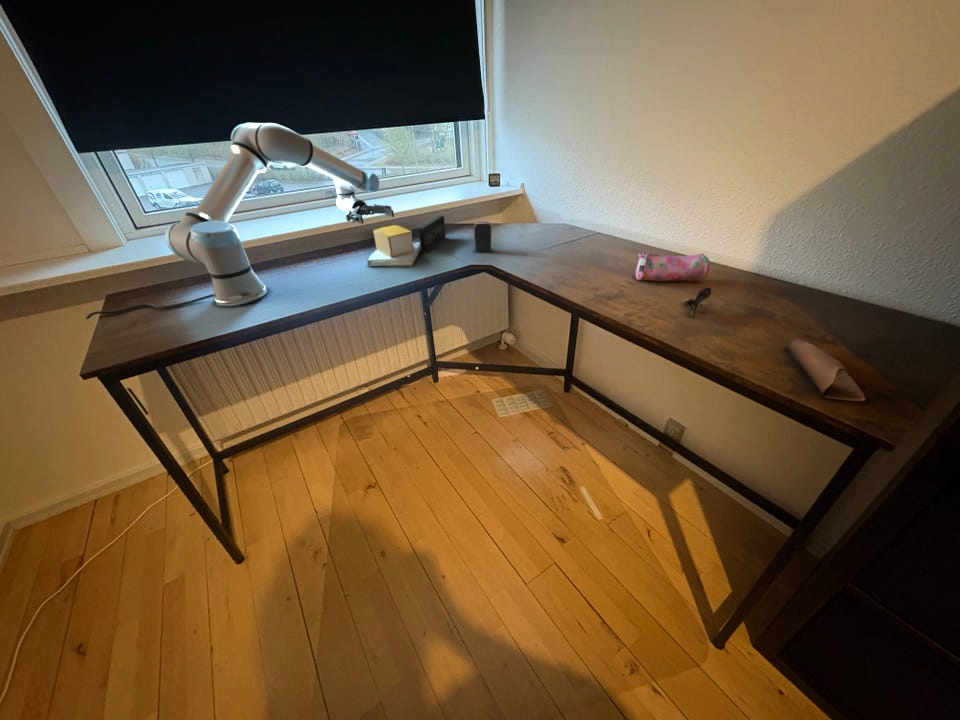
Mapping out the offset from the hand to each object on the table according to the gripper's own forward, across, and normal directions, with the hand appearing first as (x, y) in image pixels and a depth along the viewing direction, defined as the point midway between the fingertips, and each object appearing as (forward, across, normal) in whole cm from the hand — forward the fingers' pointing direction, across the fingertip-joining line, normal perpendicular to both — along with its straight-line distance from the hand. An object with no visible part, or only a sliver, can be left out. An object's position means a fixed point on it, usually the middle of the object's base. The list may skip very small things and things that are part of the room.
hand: (377, 216), depth 153 cm
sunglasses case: (+145, +34, +14) cm, 149 cm away
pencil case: (+96, +57, +14) cm, 112 cm away
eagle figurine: (+112, +42, +14) cm, 121 cm away
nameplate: (+10, +19, +14) cm, 26 cm away
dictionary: (+11, 0, +11) cm, 16 cm away
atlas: (+11, 0, +14) cm, 18 cm away
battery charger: (+30, +30, +14) cm, 45 cm away
